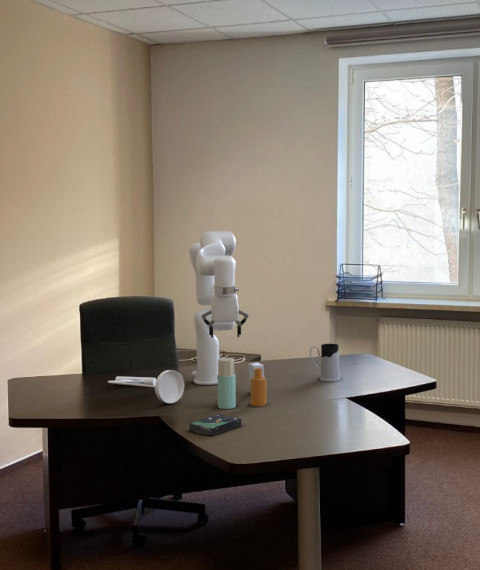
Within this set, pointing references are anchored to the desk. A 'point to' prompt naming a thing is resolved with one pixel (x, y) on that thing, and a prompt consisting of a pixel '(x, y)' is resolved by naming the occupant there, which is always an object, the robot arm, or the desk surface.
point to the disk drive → (214, 424)
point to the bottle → (226, 392)
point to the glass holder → (328, 362)
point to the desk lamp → (158, 385)
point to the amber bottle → (258, 388)
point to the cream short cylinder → (226, 367)
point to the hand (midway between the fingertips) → (225, 336)
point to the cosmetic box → (251, 370)
